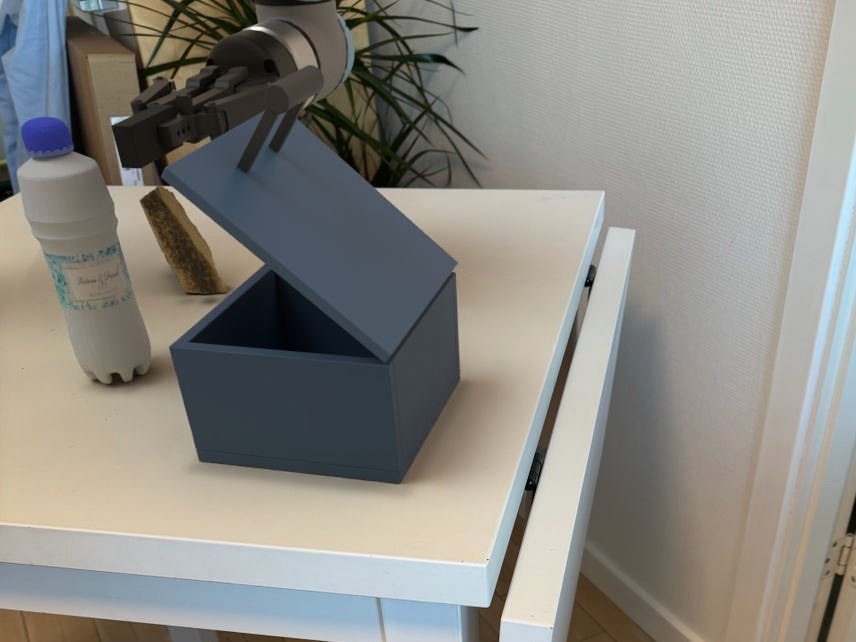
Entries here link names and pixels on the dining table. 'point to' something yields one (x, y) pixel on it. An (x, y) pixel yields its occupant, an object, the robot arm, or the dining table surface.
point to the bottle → (82, 252)
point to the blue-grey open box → (312, 384)
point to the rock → (181, 243)
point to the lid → (315, 219)
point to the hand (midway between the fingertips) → (126, 147)
